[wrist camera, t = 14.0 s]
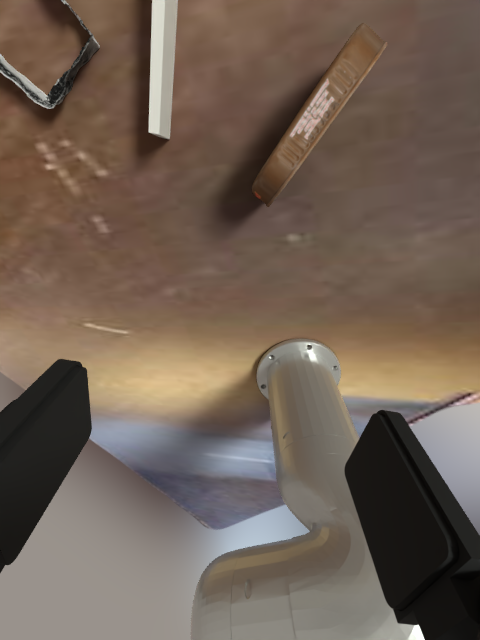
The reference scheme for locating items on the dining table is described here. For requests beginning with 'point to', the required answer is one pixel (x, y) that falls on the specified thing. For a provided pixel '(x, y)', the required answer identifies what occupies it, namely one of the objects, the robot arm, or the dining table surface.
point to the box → (162, 66)
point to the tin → (319, 111)
